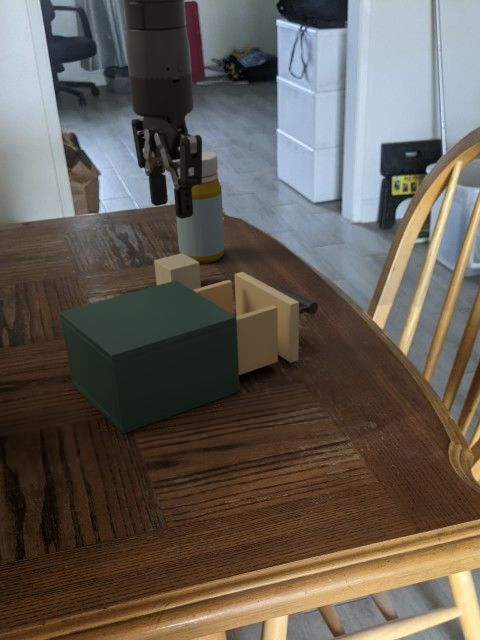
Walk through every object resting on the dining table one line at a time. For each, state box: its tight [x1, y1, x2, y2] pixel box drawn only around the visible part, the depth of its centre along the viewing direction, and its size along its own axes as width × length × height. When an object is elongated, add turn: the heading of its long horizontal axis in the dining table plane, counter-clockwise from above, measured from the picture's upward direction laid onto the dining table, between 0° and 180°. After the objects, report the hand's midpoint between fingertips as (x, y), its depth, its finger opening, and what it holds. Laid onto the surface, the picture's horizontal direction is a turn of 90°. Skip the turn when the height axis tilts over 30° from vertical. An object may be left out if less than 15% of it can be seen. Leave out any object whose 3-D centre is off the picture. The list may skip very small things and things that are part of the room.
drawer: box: [193, 271, 319, 376], centre depth 91 cm, size 18×11×7 cm, turn 126°
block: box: [153, 253, 202, 290], centre depth 109 cm, size 5×5×5 cm
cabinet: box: [59, 280, 241, 435], centre depth 86 cm, size 15×13×9 cm
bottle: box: [173, 149, 225, 265], centre depth 117 cm, size 7×7×15 cm
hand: (172, 210), depth 104 cm, fingers open, 6 cm apart
